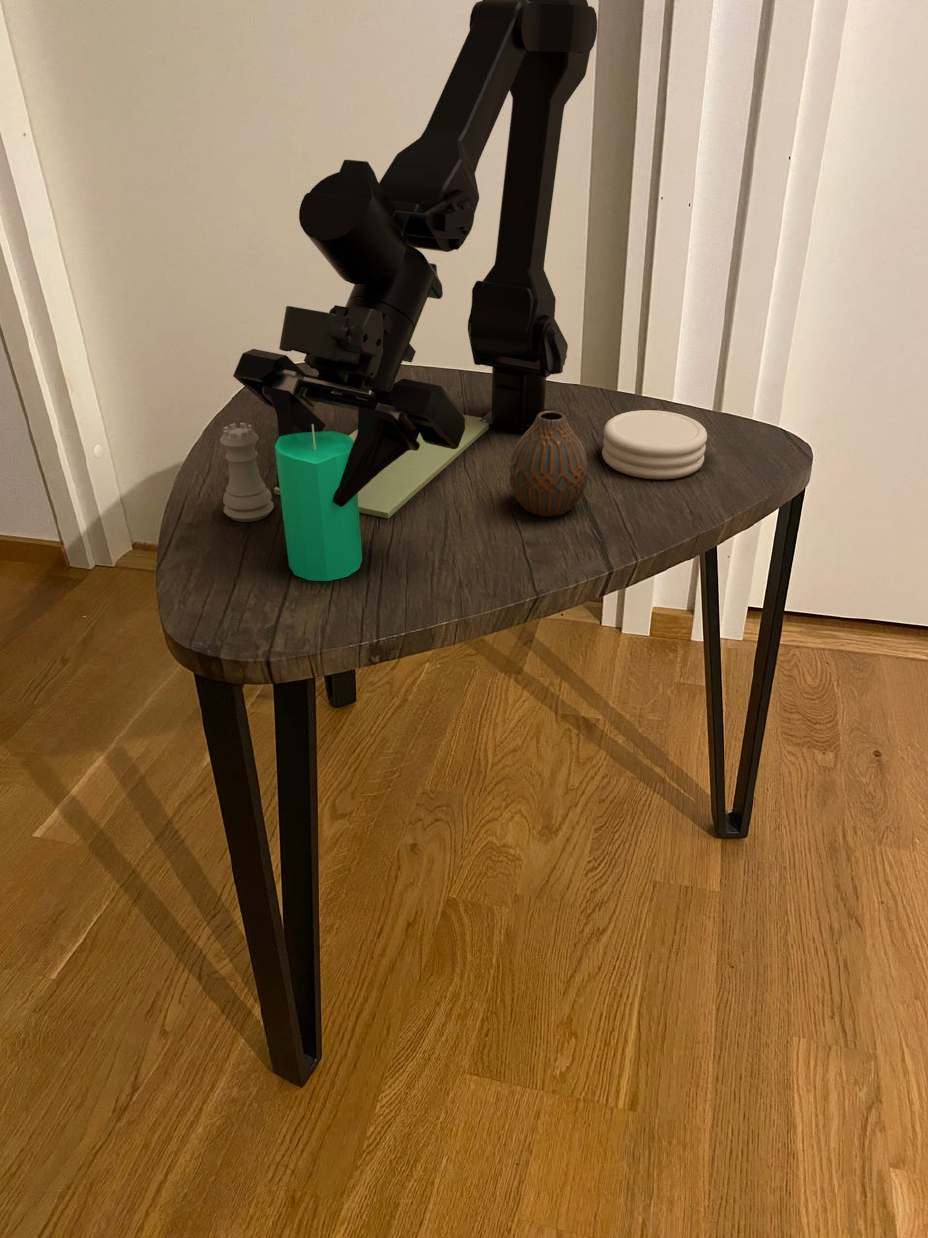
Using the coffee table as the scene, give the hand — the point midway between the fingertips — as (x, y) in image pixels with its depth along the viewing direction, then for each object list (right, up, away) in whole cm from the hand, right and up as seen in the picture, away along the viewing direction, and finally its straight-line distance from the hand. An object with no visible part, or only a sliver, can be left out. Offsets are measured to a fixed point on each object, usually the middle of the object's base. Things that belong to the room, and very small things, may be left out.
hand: (308, 496), depth 76 cm
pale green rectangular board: (+5, +7, +22) cm, 24 cm away
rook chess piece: (-7, 0, +12) cm, 14 cm away
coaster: (+31, +6, +22) cm, 38 cm away
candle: (+1, -5, +5) cm, 7 cm away
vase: (+19, +1, +13) cm, 24 cm away
